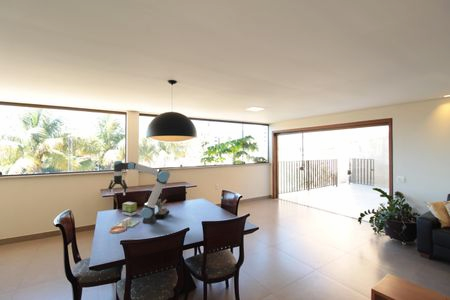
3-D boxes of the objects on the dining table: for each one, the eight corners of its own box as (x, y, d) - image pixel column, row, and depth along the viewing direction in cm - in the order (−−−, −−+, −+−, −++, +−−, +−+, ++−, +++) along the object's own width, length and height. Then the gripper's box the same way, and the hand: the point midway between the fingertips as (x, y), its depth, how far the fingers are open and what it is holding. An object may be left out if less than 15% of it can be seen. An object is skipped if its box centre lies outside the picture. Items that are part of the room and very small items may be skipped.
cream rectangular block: (130, 222, 238) (130, 217, 238) (129, 224, 233) (129, 218, 233) (127, 222, 238) (127, 217, 238) (125, 224, 233) (125, 218, 233)
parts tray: (138, 222, 239) (138, 221, 239) (132, 227, 224) (132, 226, 224) (121, 222, 240) (121, 221, 240) (113, 227, 225) (113, 225, 225)
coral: (163, 219, 251) (163, 201, 251) (146, 219, 252) (146, 201, 252) (169, 213, 276) (169, 196, 276) (154, 212, 277) (154, 196, 277)
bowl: (128, 227, 223) (128, 225, 223) (121, 233, 208) (121, 231, 208) (115, 227, 224) (115, 225, 224) (106, 232, 209) (106, 230, 209)
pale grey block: (127, 224, 231) (127, 219, 231) (125, 226, 226) (125, 220, 226) (123, 224, 231) (123, 219, 231) (121, 226, 226) (121, 220, 226)
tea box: (122, 214, 270) (122, 203, 270) (128, 212, 279) (128, 201, 279) (130, 216, 264) (130, 204, 264) (136, 213, 273) (136, 202, 273)
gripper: (131, 174, 227) (131, 194, 227) (108, 174, 228) (108, 194, 228) (127, 175, 219) (127, 195, 219) (104, 175, 220) (104, 195, 220)
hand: (118, 195), depth 223 cm, fingers open, 13 cm apart
